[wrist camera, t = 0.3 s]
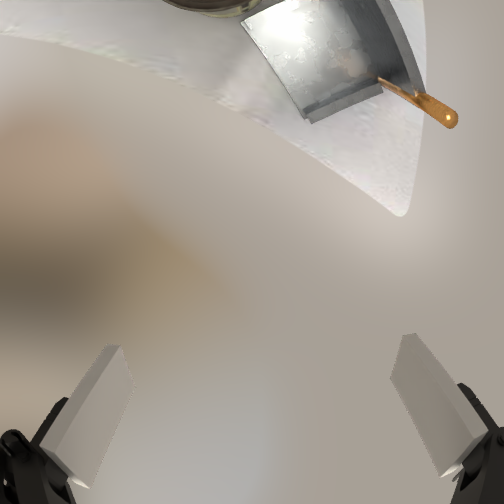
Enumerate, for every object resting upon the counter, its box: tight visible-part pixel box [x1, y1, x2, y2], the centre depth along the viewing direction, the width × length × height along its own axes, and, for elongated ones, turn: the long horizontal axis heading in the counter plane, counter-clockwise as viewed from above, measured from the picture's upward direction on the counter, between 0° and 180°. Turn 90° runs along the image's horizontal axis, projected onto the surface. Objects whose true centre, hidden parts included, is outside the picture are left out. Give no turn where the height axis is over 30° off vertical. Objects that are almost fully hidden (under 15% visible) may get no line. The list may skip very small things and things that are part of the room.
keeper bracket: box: [241, 0, 458, 129], centre depth 21 cm, size 16×14×16 cm
